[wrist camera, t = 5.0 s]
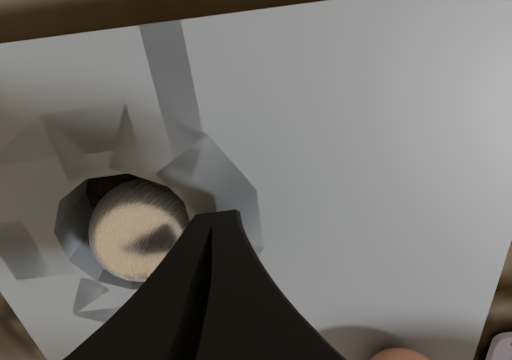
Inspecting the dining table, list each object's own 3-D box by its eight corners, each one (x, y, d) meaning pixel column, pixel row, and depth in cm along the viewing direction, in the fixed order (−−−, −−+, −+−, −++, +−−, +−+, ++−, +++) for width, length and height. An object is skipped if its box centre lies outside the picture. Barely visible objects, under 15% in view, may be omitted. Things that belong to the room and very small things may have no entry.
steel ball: (158, 229, 9) (61, 183, 10) (147, 322, 10) (63, 274, 11) (221, 186, 12) (142, 154, 13) (205, 262, 13) (136, 228, 14)
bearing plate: (517, -26, 10) (599, -36, 8) (434, 348, 18) (461, 395, 16) (-68, 52, 10) (-155, 64, 8) (118, 389, 18) (102, 442, 16)
